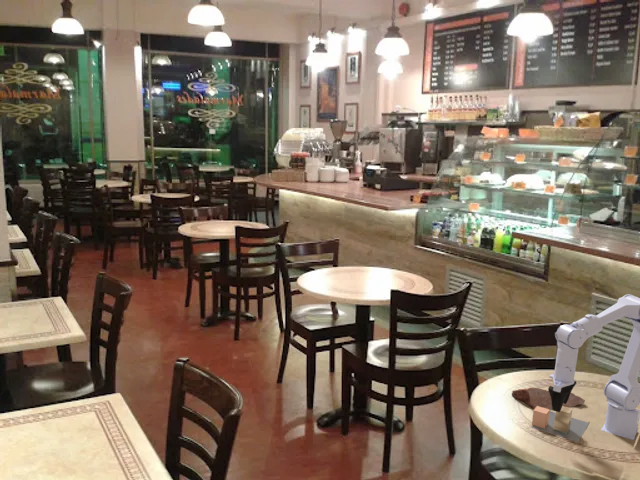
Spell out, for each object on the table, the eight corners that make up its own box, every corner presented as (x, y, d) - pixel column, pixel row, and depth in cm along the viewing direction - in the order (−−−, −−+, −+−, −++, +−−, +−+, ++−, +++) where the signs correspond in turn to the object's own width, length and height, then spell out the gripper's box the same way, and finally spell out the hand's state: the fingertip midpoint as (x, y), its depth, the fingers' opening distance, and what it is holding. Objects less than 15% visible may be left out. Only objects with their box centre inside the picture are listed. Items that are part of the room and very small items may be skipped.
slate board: (589, 424, 202) (589, 422, 202) (577, 443, 190) (577, 441, 189) (545, 411, 210) (545, 410, 210) (531, 429, 197) (531, 427, 197)
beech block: (569, 429, 197) (572, 408, 196) (566, 434, 194) (569, 413, 193) (556, 425, 200) (559, 404, 198) (553, 429, 196) (556, 409, 195)
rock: (592, 406, 213) (581, 379, 219) (528, 411, 208) (519, 383, 214) (577, 416, 222) (567, 389, 227) (516, 421, 217) (507, 393, 222)
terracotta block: (548, 424, 200) (549, 409, 199) (544, 428, 197) (546, 413, 196) (535, 420, 202) (537, 405, 201) (531, 424, 199) (533, 410, 198)
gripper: (558, 354, 196) (552, 395, 198) (545, 367, 184) (539, 410, 186) (582, 360, 192) (575, 402, 194) (570, 374, 180) (563, 418, 182)
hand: (559, 406), depth 190 cm, fingers open, 7 cm apart
